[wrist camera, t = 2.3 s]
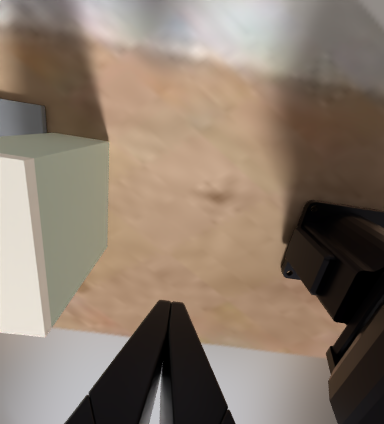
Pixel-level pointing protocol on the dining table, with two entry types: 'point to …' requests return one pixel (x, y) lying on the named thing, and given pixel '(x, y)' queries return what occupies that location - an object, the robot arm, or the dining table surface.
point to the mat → (21, 118)
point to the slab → (49, 225)
